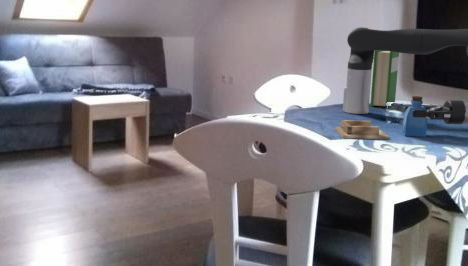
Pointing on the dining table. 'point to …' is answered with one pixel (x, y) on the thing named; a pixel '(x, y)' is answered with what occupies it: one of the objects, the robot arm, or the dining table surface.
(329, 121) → the dining table surface
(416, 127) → the perfume bottle
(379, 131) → the u cradle
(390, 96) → the hardback book
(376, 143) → the dining table surface
